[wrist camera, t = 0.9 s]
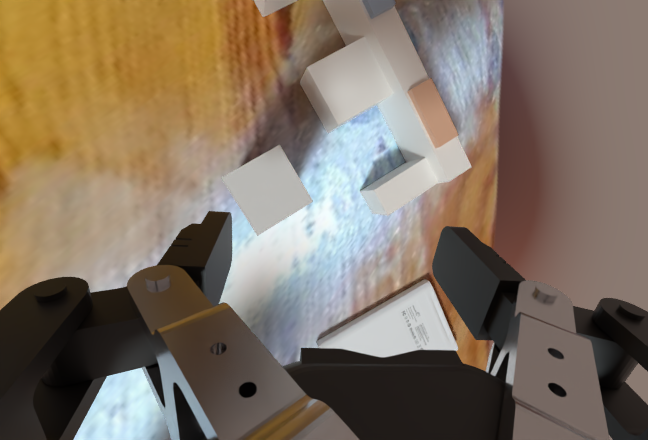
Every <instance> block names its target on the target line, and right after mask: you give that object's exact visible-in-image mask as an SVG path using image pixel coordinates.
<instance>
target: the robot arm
mask: <svg viewBox="0 0 648 440" xmlns="http://www.w3.org/2000/svg"><path fill="white" fill-rule="evenodd" d="M231 261H232V217H231V213H230V212H215V211H209V212H208V213H207V215H206V217H205V218H204V220H203V222H202V223H201V224H191V225H189V226H187V227H186V228H184V229H182V230H181V231H180V233H179V234H178V236H177V237H176V240H174V241H173V243H172V244H171V246H170V247H169V249H168V250H167V252H166V253H165V254H164V256H163V257H162V259H161V260H160V262H159V263H158V265H157V266H152V267H148V268H145V269H143V270H141V271H139V272H137V273H135V274H134V275H133V276H132V277H131V278H130V279H129V280H128V283H127V287H123V288H118V289H112V290H105V291H99V292H92V293H90V290H89V285H88V283H87V282H86V281H85V280H83V279H80V278H76V277H60V278H54V279H49V280H46V281H42V282H39V283H37V284H34V285H32V286H30V287H28V288H26V289H25V290H23V291H22V292H20V293H19V294H18V295H17V296H16V297H14V298H13V299H12V300H11V301H10V302H9V303H8V304H7V305H6V306H5V307H3V308H2V309H1V310H0V440H73V439H74V437H75V435H76V433H77V431H78V430H79V428H80V426H81V424H82V422H83V420H84V418H85V416H86V415H87V413H88V411H89V409H90V407H91V405H92V403H93V401H94V399H95V398H96V396H97V394H98V392H99V390H100V388H101V386H102V384H103V382H104V381H105V379H106V377H107V376H109V375H113V374H117V373H121V372H125V371H129V370H133V369H138V368H142V369H143V372H144V374H145V376H146V378H147V381H148V383H149V385H150V387H151V389H152V392H153V394H154V396H155V398H156V401H157V403H158V405H159V407H160V410H161V412H162V414H163V416H164V419H165V421H166V424H167V427H168V430H169V434H170V437H171V440H610V439H609V435H610V436H611V438H612V439H613V440H648V405H647V404H646V403H645V402H644V401H643V400H642V399H641V398H640V397H639V396H638V395H637V394H636V393H635V392H634V391H633V390H632V389H631V388H630V387H629V385H628V384H626V382H625V381H626V379H627V378H628V377H629V375H630V374H631V372H632V371H633V370H634V368H635V367H636V365H637V364H638V363H639V364H640V365H641V366H642V367H643V368H644V369H646V370H647V371H648V312H647V311H645V310H643V309H641V308H639V307H637V306H635V305H633V304H630V303H628V302H625V301H621V300H618V299H613V298H604V299H601V300H600V302H599V304H598V305H597V307H596V309H595V310H594V311H592V310H588V309H584V308H579V307H575V306H573V304H572V301H571V300H570V299H569V298H568V297H567V296H566V295H565V294H564V293H562V292H561V291H559V290H558V289H556V288H554V287H552V286H549V285H547V284H544V283H541V282H537V281H529V280H528V281H526V280H525V279H524V278H523V277H522V276H521V275H520V274H519V273H518V272H516V271H515V270H514V269H513V268H512V267H511V266H510V265H509V264H506V261H505V260H504V259H502V258H501V257H499V255H498V254H497V253H496V252H495V251H494V250H493V249H492V248H491V247H489V246H487V245H485V244H484V243H482V242H481V241H480V240H479V239H478V238H477V237H476V236H475V235H474V234H473V233H471V232H470V231H469V230H468V229H467V228H465V227H449V226H446V227H444V228H443V230H442V232H441V235H440V239H439V242H438V246H437V249H436V253H435V256H434V259H433V265H432V269H433V274H434V277H435V279H436V280H437V282H438V283H439V285H440V286H441V288H442V289H443V291H444V292H445V294H446V295H447V297H448V298H449V300H450V301H451V303H452V304H453V306H454V307H455V309H456V310H457V312H458V314H459V315H460V317H461V318H462V320H463V321H464V323H465V324H466V326H467V327H468V329H469V330H470V332H471V333H472V335H473V336H474V338H475V339H476V340H493V341H494V343H493V346H492V348H491V350H490V354H489V359H488V364H487V368H486V371H483V370H481V369H478V368H476V367H473V366H470V365H467V364H463V363H462V362H461V360H460V358H459V356H458V354H457V353H456V351H455V350H416V351H411V352H407V353H403V354H398V355H394V356H389V357H377V356H372V355H368V354H363V353H358V352H354V351H349V350H345V349H336V348H301V355H300V361H298V362H294V363H291V364H288V365H285V366H281V365H280V364H279V362H278V361H277V360H276V359H275V358H274V357H273V356H272V354H271V353H270V352H269V351H268V350H267V349H266V347H265V346H264V345H263V344H262V343H261V342H260V341H259V339H258V338H257V337H256V336H255V335H254V334H253V332H252V331H251V330H250V329H249V328H248V327H247V325H246V324H245V323H244V322H243V321H242V320H241V319H240V317H239V316H238V315H237V314H236V313H235V312H234V310H233V309H232V308H231V307H230V306H229V305H228V304H227V303H221V304H219V301H220V298H221V295H222V292H223V289H224V285H225V282H226V279H227V276H228V273H229V270H230V267H231Z"/></svg>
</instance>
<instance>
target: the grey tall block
mask: <svg viewBox="0 0 648 440" xmlns="http://www.w3.org/2000/svg"><path fill="white" fill-rule="evenodd" d="M221 179H222V181H223V182H224V184H225V185H226V187H227V189H228V190H229V192H230V193H231V195H232V196H233V198H234V200H235V201H236V203H237V204H238V206H239V207H240V209H241V210H242V212H243V214H244V215H245V217H246V218H247V220H248V221H249V223H250V225H251V226H252V228H253V229H254V231H255V232H256V234H257V236H258V235H259V234H261V233H263V232H264V231H266V230H267V229H269V228H271V227H272V226H274V225H276V224H277V223H279V222H280V221H282V220H284V219H285V218H287V217H289V216H290V215H292V214H293V213H295V212H297V211H298V210H300V209H302V208H303V207H305V206H306V205H308V204H310V203H311V202H313V200H312V199H311V197H310V195H309V194H308V192H307V190H306V189H305V187H304V185H303V184H302V182H301V180H300V178H299V177H298V175H297V173H296V172H295V170H294V168H293V167H292V165H291V163H290V161H289V160H288V158H287V156H286V155H285V153H284V151H283V150H282V148H281V146H280V145H278V146H276V147H274V148H273V149H271V150H269V151H267V152H266V153H264V154H262V155H260V156H259V157H257V158H255V159H253V160H252V161H250V162H248V163H246V164H244V165H243V166H241V167H239V168H237V169H236V170H234V171H232V172H230V173H229V174H227V175H225V176H223V177H222V178H221Z"/></svg>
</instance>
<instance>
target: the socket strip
mask: <svg viewBox="0 0 648 440" xmlns="http://www.w3.org/2000/svg"><path fill="white" fill-rule="evenodd" d="M296 1H298V0H254V2H255V4H256V6H257V7H258V9H259V11H260V13H261V15H262V16H263V17H265V16H267V15H269V14H271V13H273V12H275V11H277V10H279V9H281V8H283V7H285V6H287V5H289V4H291V3H294V2H296ZM323 2H324V4H325V6H326V8H327V10H328V12H329V14H330V16H331V18H332V20H333V22H334V23H335V25H336V27H337V29H338V31H339V33H340V35H341V37H342V39H343V41H344V43H345V45H346V47H344V48H342V49H340V50H338V51H336V52H334V53H332V54H331V55H329V56H327V57H325V58H323V59H321V60H319V61H317V62H316V63H314V64H312V65H310V66H308V67H307V68H306V70H305V72H304V74H303V76H302V78H301V81H300V85H301V86H302V88H303V90H304V92H305V94H306V95H307V97H308V99H309V101H310V103H311V104H312V106H313V108H314V110H315V112H316V113H317V115H318V117H319V119H320V121H321V122H322V124H323V126H324V128H325V130H326V131H327V133H330V132H332V131H334V130H335V129H337V128H339V127H340V126H342V125H344V124H346V123H347V122H349V121H351V120H353V119H354V118H356V117H358V116H360V115H361V114H363V113H365V112H366V111H368V110H370V109H372V108H373V107H375V106H377V107H378V109H379V110H380V112H381V114H382V116H383V118H384V120H385V122H386V124H387V126H388V128H389V130H390V132H391V134H392V136H393V138H394V139H395V141H396V143H397V145H398V147H399V149H400V151H401V153H402V155H403V157H404V159H405V161H406V162H405V163H404V164H402V165H401V166H399V167H397V168H396V169H394V170H393V171H391V172H389V173H388V174H386V175H385V176H383V177H381V178H380V179H378V180H377V181H375V182H373V183H372V184H370V185H369V186H367V187H365V188H364V189H362V190H361V191H360V193H361V194H362V196H363V198H364V200H365V202H366V203H367V205H368V207H369V209H370V211H371V212H372V214H378V215H386V216H388V215H390V214H391V213H393V212H394V211H396V210H397V209H399V208H401V207H402V206H404V205H405V204H407V203H408V202H410V201H411V200H413V199H414V198H416V197H417V196H419V195H420V194H422V193H423V192H425V191H427V190H428V189H430V188H431V187H433V186H434V185H436V184H437V183H442V182H449V181H451V180H452V179H454V178H455V177H457V176H459V175H460V174H462V173H463V172H465V171H466V170H468V169H469V168H471V164H470V162H469V160H468V158H467V156H466V154H465V152H464V150H463V148H462V146H461V144H460V141H459V139H458V137H457V136H458V133H457V130H456V128H455V126H454V124H453V122H452V120H451V118H450V116H449V114H448V112H447V110H446V107H445V105H444V103H443V101H442V99H441V97H440V95H439V93H438V91H437V89H436V86H435V84H434V82H433V80H432V78H430V79H429V77H428V75H427V73H426V70H425V68H424V66H423V64H422V62H421V60H420V58H419V56H418V54H417V52H416V50H415V47H414V45H413V43H412V41H411V39H410V37H409V35H408V33H407V31H406V29H405V27H404V24H403V22H402V20H401V18H400V16H399V14H398V12H397V10H396V8H395V6H394V5H395V4H396V3H395V1H394V0H323Z"/></svg>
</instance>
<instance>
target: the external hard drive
mask: <svg viewBox="0 0 648 440" xmlns="http://www.w3.org/2000/svg"><path fill="white" fill-rule="evenodd" d="M316 343H317V345H318V347H319V348H336V349H345V350H349V351H354V352H358V353H363V354H368V355H372V356H377V357H389V356H394V355H398V354H403V353H407V352H411V351H416V350H455V351H456V350H458V346H457V344H456V341H455V339H454V337H453V334H452V332H451V330H450V327H449V325H448V323H447V320H446V318H445V315H444V313H443V311H442V308H441V306H440V303H439V301H438V299H437V296H436V294H435V291H434V289H433V286H432V285H431V283H430V281H428V280H426V279H424V280H422V281H420V282H419V283H417V284H415V285H413V286H412V287H410V288H408V289H406V290H405V291H403V292H401V293H399V294H398V295H396V296H394V297H393V298H391V299H389V300H387V301H386V302H384V303H382V304H380V305H379V306H377V307H375V308H373V309H371V310H370V311H368V312H366V313H365V314H363V315H361V316H359V317H358V318H356V319H354V320H352V321H351V322H349V323H347V324H345V325H344V326H342V327H340V328H338V329H337V330H335V331H333V332H331V333H330V334H328V335H326V336H324V337H323V338H321V339H319V340H317V341H316Z"/></svg>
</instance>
